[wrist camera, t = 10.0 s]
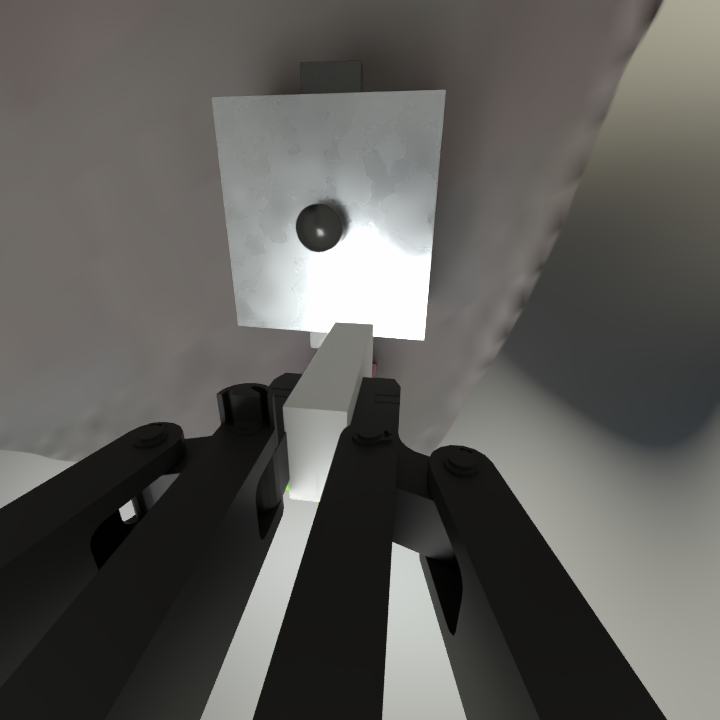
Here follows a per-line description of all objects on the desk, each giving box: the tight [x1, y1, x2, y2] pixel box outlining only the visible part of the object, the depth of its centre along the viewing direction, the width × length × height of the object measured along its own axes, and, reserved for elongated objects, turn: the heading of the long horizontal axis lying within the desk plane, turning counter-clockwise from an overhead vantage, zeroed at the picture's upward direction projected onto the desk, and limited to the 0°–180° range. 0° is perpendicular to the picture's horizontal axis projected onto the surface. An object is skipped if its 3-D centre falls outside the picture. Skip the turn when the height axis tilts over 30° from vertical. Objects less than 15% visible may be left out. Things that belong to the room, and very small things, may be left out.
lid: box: [212, 90, 446, 340], centre depth 26 cm, size 16×15×3 cm
